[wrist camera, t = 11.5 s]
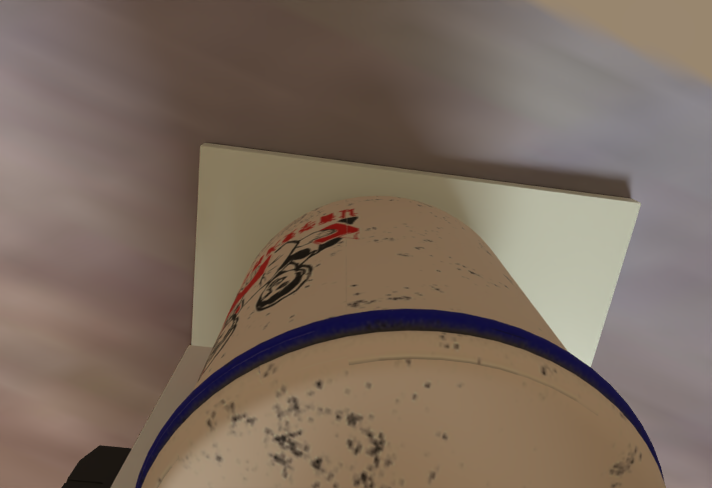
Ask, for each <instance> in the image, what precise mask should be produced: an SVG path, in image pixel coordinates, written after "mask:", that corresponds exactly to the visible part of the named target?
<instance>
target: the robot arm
mask: <svg viewBox="0 0 712 488" xmlns="http://www.w3.org/2000/svg"><path fill="white" fill-rule="evenodd" d="M211 350H212V347H203V346H194V345H189V346H188V347H187V349H186V351H185V353H184V355H183V357H182V358H181V360H180V362H179V364H178V366H177V367H176V369H175V371H174V373H173V375H172V377H171V378H170V380H169V382H168V384H167V386H166V387H165V389H164V391H163V393H162V395H161V397H160V398H159V400H158V402H157V404H156V406H155V407H154V409H153V411H152V413H151V415H150V417H149V418H148V420H147V422H146V424H145V426H144V427H143V429H142V431H141V433H140V435H139V437H138V438H137V440H136V442H135V444H134V446H133V447H132V449H131V448H121V447H111V446H101V445H100V446H98V447H97V448H96V449H94V450H93V451H92V452H90V453H89V454H88V455H86V456H85V457H84V458H82V459H81V460H80V461H79V462H78V464H77V465H76V467H75V468H74V470H73V471H72V473H71V474H70V476H69V477H68V479H67V482H66V483H64V485H63V486H62V488H135V486H136V483H137V479H138V475H139V473H140V470H141V468H142V465H143V463H144V461H145V458H146V456H147V454H148V451H149V450H150V448H151V446H152V444H153V443H154V441H155V439H156V437H157V436H158V434H159V432H160V430H161V429H162V428H163V426H164V425H165V423H166V422H167V421H168V419H169V418H170V417H171V415H172V414H173V413H174V411H175V410H176V409H177V408H178V406H179V405H180V404H181V403H182V402H183V401H184V400H185V399H186V398H187V397H188V396H189V395H190V393H191V392H192V391H193V390H194V388H195V386H196V383H197V381H198V379H199V377H200V375H201V372H202V370H203V368H204V366H205V364H206V361H207V359H208V357H209V355H210V353H211Z"/></svg>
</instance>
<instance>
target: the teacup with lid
mask: <svg viewBox="0 0 712 488" xmlns="http://www.w3.org/2000/svg"><path fill="white" fill-rule="evenodd" d="M135 488H666V486H665V483H664V479H663V474H662V470H661V466H660V463H659V461H658V458H657V455H656V452H655V450H654V447H653V445H652V443H651V441H650V439H649V437H648V435H647V433H646V431H645V430H644V428H643V426H642V424H641V423H640V421H639V420H638V418H637V417H636V415H635V414H634V412H633V411H632V410H631V408H630V407H629V405H628V404H627V403H626V402H625V401H624V399H623V398H622V397H621V396H620V395H619V394H618V393H617V392H616V391H615V389H614V388H613V387H612V386H611V385H610V384H609V383H608V382H607V381H605V380H604V379H603V378H602V377H601V376H600V375H599V374H598V373H596V372H595V371H594V370H593V369H592V368H591V367H589V366H588V365H587V364H585V363H584V362H582V361H581V360H579V359H578V358H577V357H575V356H574V355H572V354H571V353H570V352H568V351H567V349H566V348H565V347H564V345H563V344H562V343H561V341H560V340H559V339H558V337H557V336H556V335H555V333H554V332H553V331H552V329H551V328H550V327H549V325H548V324H547V323H546V321H545V320H544V319H543V317H542V316H541V315H540V313H539V312H538V311H537V309H536V308H535V307H534V306H533V304H532V303H531V302H530V300H529V299H528V298H527V296H526V295H525V294H524V292H523V291H522V290H521V288H520V287H519V286H518V284H517V283H516V282H515V280H514V279H513V278H512V276H511V275H510V274H509V272H508V271H507V270H506V268H505V267H504V266H503V264H502V263H501V262H500V260H499V259H498V258H497V256H496V255H495V254H494V252H493V251H492V250H491V248H490V247H489V246H488V245H487V244H486V243H485V242H484V240H483V239H482V238H481V237H480V236H479V235H478V234H476V233H475V232H474V231H473V230H472V229H471V228H470V227H468V226H467V225H466V224H464V223H463V222H461V221H460V220H459V219H457V218H455V217H453V216H452V215H450V214H448V213H447V212H445V211H442V210H440V209H438V208H436V207H434V206H431V205H428V204H425V203H422V202H419V201H415V200H411V199H406V198H400V197H392V196H363V197H355V198H349V199H344V200H340V201H336V202H332V203H330V204H327V205H324V206H321V207H318V208H316V209H314V210H312V211H310V212H308V213H306V214H304V215H302V216H301V217H299V218H297V219H296V220H294V221H293V222H291V223H290V224H289V225H287V226H286V227H284V228H283V229H282V230H281V231H280V232H279V233H277V234H276V235H275V236H274V237H273V238H272V239H271V240H270V241H269V242H268V243H267V244H266V246H265V247H264V248H263V249H262V250H261V251H260V253H259V254H258V256H257V257H256V258H255V260H254V261H253V263H252V265H251V266H250V268H249V270H248V272H247V274H246V276H245V278H244V280H243V282H242V284H241V287H240V289H239V291H238V293H237V295H236V298H235V300H234V302H233V304H232V306H231V309H230V311H229V313H228V315H227V317H226V320H225V322H224V324H223V326H222V328H221V331H220V333H219V335H218V337H217V339H216V342H215V344H214V346H213V348H212V350H211V353H210V355H209V357H208V359H207V361H206V364H205V366H204V368H203V370H202V372H201V375H200V377H199V379H198V381H197V383H196V386H195V388H194V390H193V391H192V392H191V393H190V395H189V396H188V397H187V398H186V399H185V400H184V401H183V402H182V403H181V404H180V405H179V406H178V408H177V409H176V410H175V411H174V413H173V414H172V415H171V417H170V418H169V419H168V421H167V422H166V423H165V425H164V426H163V428H162V429H161V430H160V432H159V434H158V436H157V437H156V439H155V441H154V443H153V444H152V446H151V448H150V450H149V451H148V454H147V456H146V458H145V461H144V463H143V465H142V468H141V470H140V473H139V475H138V479H137V483H136V486H135Z"/></svg>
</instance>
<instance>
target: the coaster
mask: <svg viewBox="0 0 712 488" xmlns="http://www.w3.org/2000/svg"><path fill="white" fill-rule="evenodd" d="M363 196H392V197H400V198H406V199H411V200H415V201H419V202H422V203H425V204H428V205H431V206H434V207H436V208H438V209H440V210H442V211H445V212H447V213H448V214H450V215H452V216H453V217H455V218H457V219H459V220H460V221H461V222H463V223H464V224H466V225H467V226H468V227H470V228H471V229H472V230H473V231H474V232H475V233H476V234H478V235H479V236H480V237H481V238H482V239H483V240H484V242H485V243H486V244H487V245H488V246H489V247H490V248H491V250H492V251H493V252H494V254H495V255H496V256H497V258H498V259H499V260H500V262H501V263H502V264H503V266H504V267H505V268H506V270H507V271H508V272H509V274H510V275H511V276H512V278H513V279H514V280H515V282H516V283H517V284H518V286H519V287H520V288H521V290H522V291H523V292H524V294H525V295H526V296H527V298H528V299H529V300H530V302H531V303H532V304H533V306H534V307H535V308H536V309H537V311H538V312H539V313H540V315H541V316H542V317H543V319H544V320H545V321H546V323H547V324H548V325H549V327H550V328H551V329H552V331H553V332H554V333H555V335H556V336H557V337H558V339H559V340H560V341H561V343H562V344H563V345H564V347H565V348H566V349H567V351H568V352H570V353H571V354H572V355H574V356H575V357H577V358H578V359H579V360H581V361H582V362H584V363H585V364H587V365H588V366H589V367H591V364H592V361H593V358H594V355H595V351H596V348H597V345H598V342H599V339H600V335H601V332H602V329H603V326H604V322H605V319H606V316H607V313H608V309H609V306H610V303H611V300H612V296H613V293H614V290H615V287H616V283H617V280H618V277H619V274H620V271H621V267H622V264H623V261H624V258H625V254H626V251H627V248H628V245H629V241H630V238H631V235H632V232H633V228H634V225H635V222H636V219H637V215H638V212H639V209H640V206H641V203H640V202H638V201H636V200H634V199H631V198H623V197H615V196H608V195H600V194H593V193H585V192H577V191H570V190H562V189H554V188H547V187H539V186H532V185H524V184H516V183H509V182H501V181H493V180H486V179H478V178H471V177H463V176H455V175H448V174H440V173H432V172H425V171H417V170H410V169H402V168H394V167H387V166H379V165H371V164H364V163H356V162H349V161H341V160H333V159H326V158H318V157H310V156H303V155H295V154H288V153H280V152H272V151H265V150H257V149H249V148H242V147H234V146H227V145H219V144H211V143H204V144H202V145H200V161H199V184H198V206H197V229H196V251H195V274H194V296H193V319H192V341H191V345H194V346H203V347H212V348H213V346H214V344H215V342H216V339H217V337H218V335H219V333H220V331H221V328H222V326H223V324H224V322H225V320H226V317H227V315H228V313H229V311H230V309H231V306H232V304H233V302H234V300H235V298H236V295H237V293H238V291H239V289H240V287H241V284H242V282H243V280H244V278H245V276H246V274H247V272H248V270H249V268H250V266H251V265H252V263H253V261H254V260H255V258H256V257H257V256H258V254H259V253H260V251H261V250H262V249H263V248H264V247H265V246H266V244H267V243H268V242H269V241H270V240H271V239H272V238H273V237H274V236H275V235H276V234H277V233H279V232H280V231H281V230H282V229H283V228H284V227H286V226H287V225H289V224H290V223H291V222H293V221H294V220H296V219H297V218H299V217H301V216H302V215H304V214H306V213H308V212H310V211H312V210H314V209H316V208H318V207H321V206H324V205H327V204H330V203H332V202H336V201H340V200H344V199H349V198H355V197H363Z"/></svg>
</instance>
